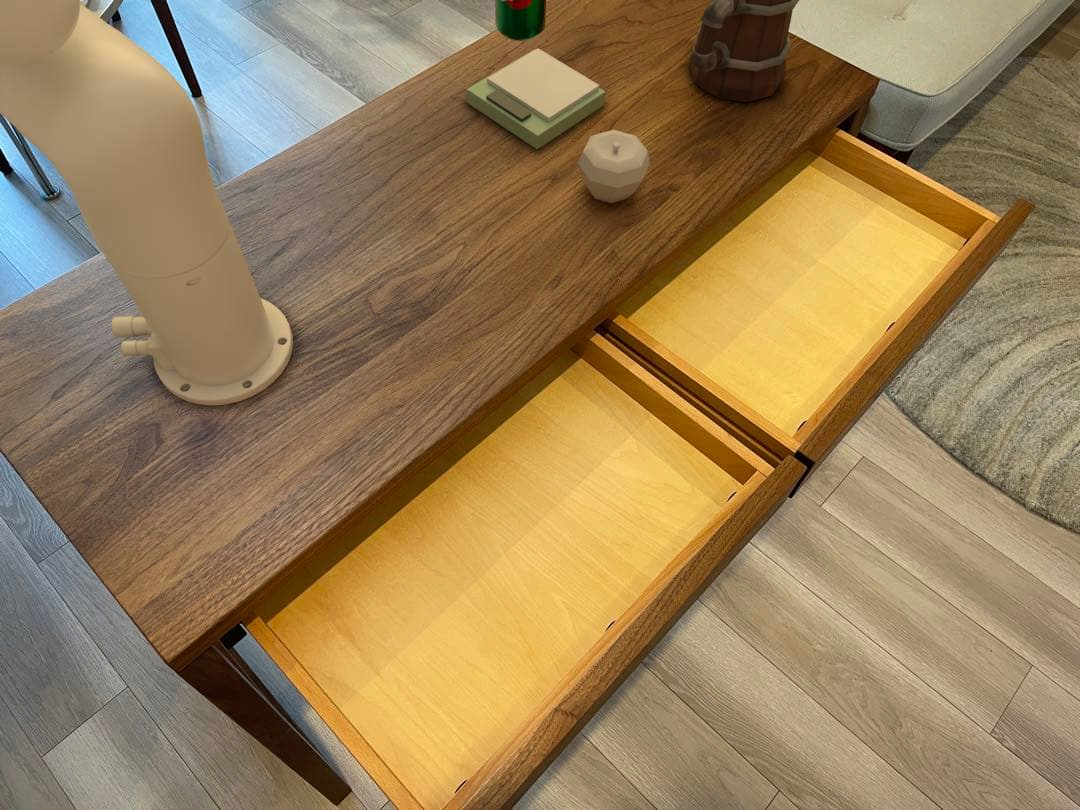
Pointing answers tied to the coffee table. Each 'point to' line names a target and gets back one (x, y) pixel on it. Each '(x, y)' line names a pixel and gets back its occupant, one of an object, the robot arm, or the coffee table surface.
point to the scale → (536, 97)
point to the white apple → (613, 165)
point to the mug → (742, 48)
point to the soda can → (520, 18)
